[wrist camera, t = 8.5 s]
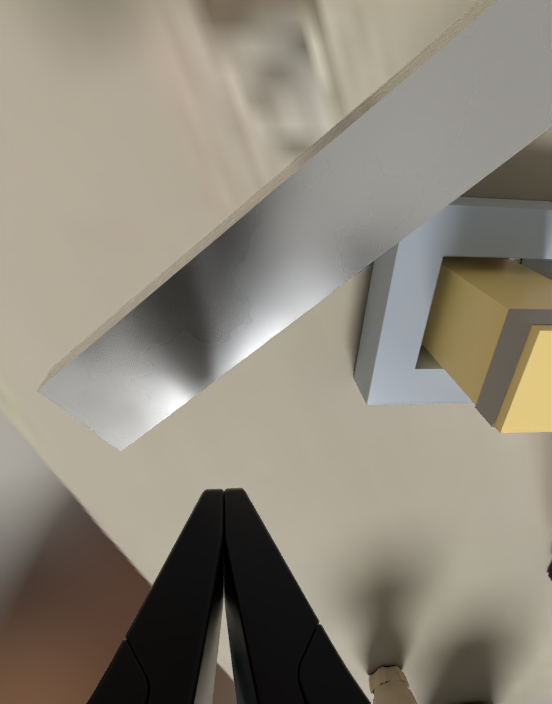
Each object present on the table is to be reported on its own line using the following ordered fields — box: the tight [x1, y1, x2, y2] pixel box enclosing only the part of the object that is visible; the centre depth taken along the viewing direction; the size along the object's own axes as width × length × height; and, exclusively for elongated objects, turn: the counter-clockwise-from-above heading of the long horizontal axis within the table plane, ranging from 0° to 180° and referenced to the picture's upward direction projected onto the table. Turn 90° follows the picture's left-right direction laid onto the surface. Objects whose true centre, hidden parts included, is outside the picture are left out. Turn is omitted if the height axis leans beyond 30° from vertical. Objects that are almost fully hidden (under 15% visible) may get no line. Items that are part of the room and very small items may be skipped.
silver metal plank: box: [37, 0, 552, 451], centre depth 8 cm, size 22×4×1 cm, turn 128°
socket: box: [354, 197, 552, 405], centre depth 20 cm, size 9×9×2 cm
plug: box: [421, 257, 552, 433], centre depth 18 cm, size 4×4×8 cm
